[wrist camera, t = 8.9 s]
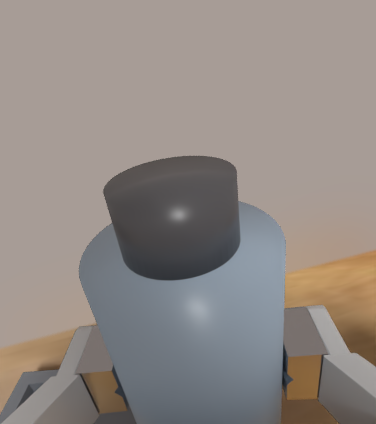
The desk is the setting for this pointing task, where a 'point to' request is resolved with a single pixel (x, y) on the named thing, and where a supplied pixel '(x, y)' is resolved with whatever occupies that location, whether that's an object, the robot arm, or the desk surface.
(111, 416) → the box
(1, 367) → the desk surface
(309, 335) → the robot arm
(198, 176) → the blue bottle
